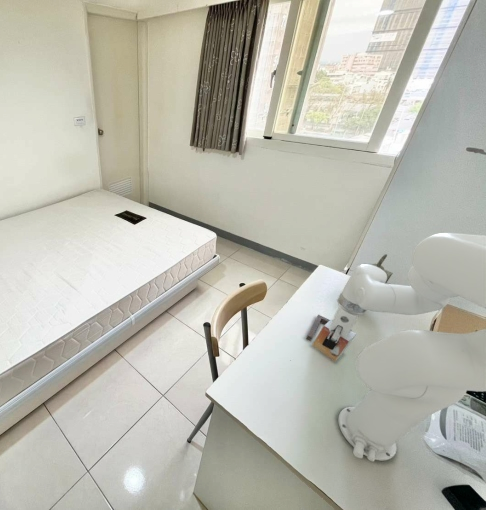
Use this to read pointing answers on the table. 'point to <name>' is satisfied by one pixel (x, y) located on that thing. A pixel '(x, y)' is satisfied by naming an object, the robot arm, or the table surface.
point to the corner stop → (315, 325)
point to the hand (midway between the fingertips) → (330, 339)
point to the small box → (339, 346)
